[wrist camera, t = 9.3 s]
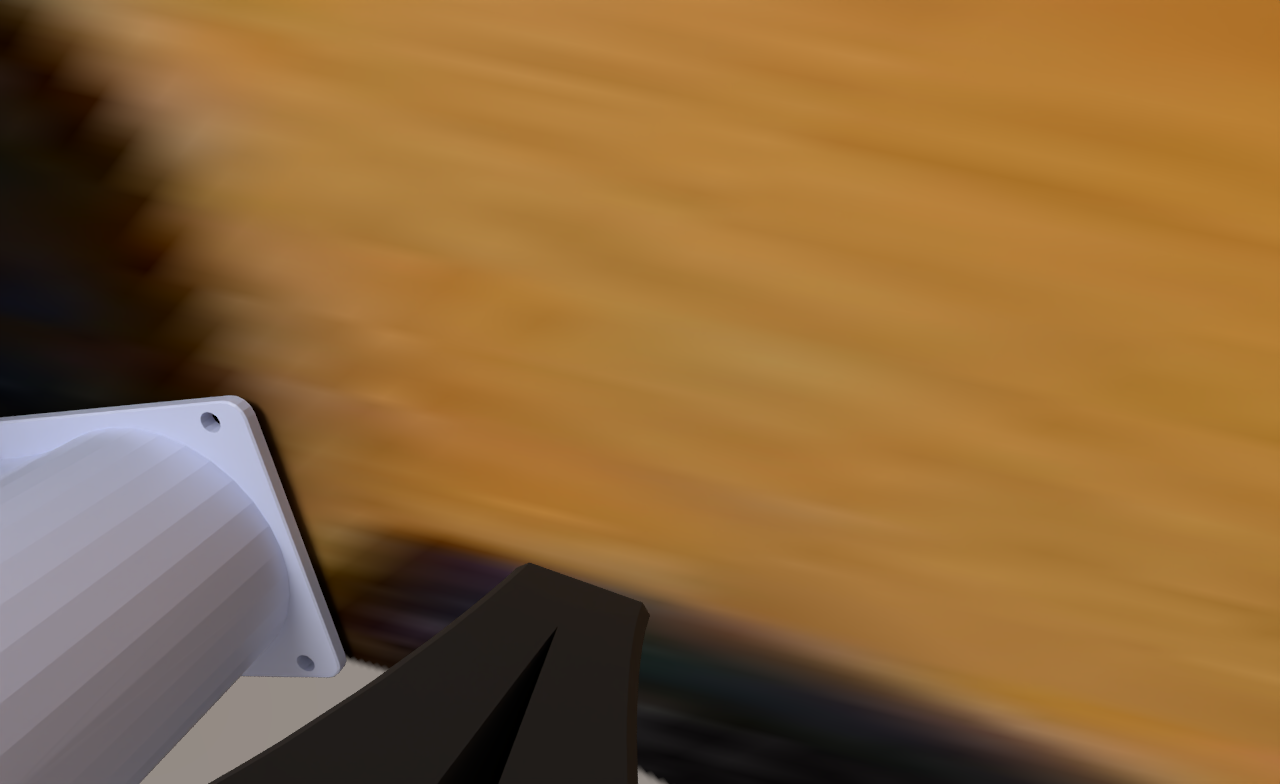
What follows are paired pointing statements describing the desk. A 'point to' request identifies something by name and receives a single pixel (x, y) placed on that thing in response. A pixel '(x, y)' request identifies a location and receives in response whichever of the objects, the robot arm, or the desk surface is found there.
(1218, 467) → the desk surface
